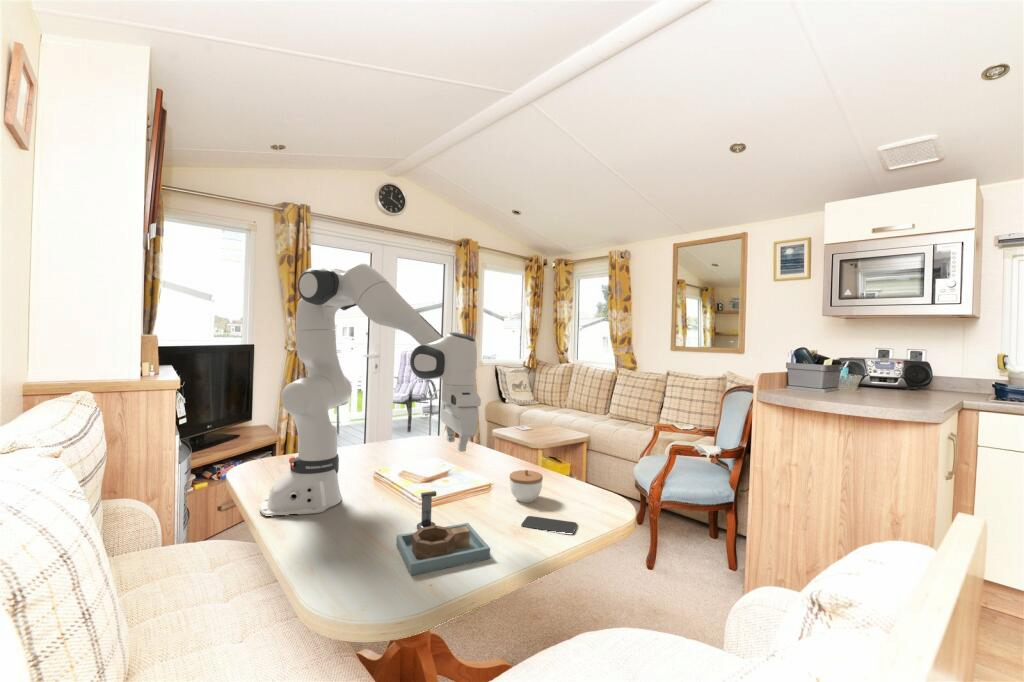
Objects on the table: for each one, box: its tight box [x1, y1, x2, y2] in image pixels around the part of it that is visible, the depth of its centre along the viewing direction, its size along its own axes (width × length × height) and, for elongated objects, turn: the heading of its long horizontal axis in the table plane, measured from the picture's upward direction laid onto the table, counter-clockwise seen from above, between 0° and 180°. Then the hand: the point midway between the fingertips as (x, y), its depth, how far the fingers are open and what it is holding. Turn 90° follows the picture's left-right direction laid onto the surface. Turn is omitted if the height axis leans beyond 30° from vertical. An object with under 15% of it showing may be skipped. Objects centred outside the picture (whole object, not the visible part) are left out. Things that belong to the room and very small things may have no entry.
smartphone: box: [520, 515, 578, 533], centre depth 126 cm, size 7×1×15 cm
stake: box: [416, 490, 437, 531], centre depth 123 cm, size 5×5×10 cm
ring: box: [412, 524, 470, 560], centre depth 110 cm, size 14×9×4 cm
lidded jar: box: [509, 469, 544, 503], centre depth 145 cm, size 11×11×9 cm
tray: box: [395, 522, 491, 576], centre depth 110 cm, size 19×15×2 cm
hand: (456, 446), depth 119 cm, fingers open, 8 cm apart
